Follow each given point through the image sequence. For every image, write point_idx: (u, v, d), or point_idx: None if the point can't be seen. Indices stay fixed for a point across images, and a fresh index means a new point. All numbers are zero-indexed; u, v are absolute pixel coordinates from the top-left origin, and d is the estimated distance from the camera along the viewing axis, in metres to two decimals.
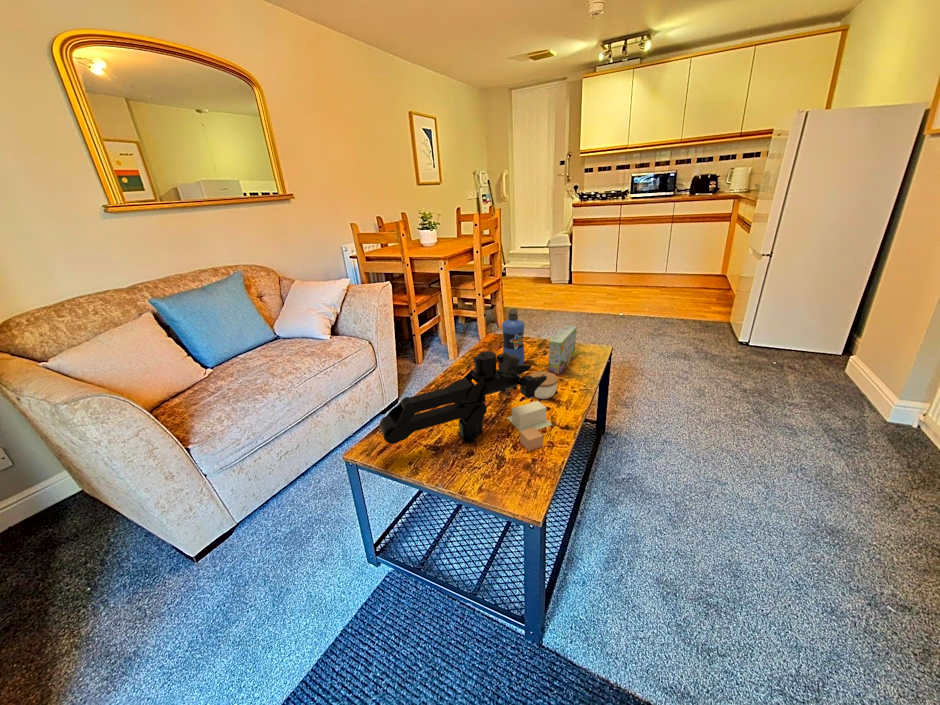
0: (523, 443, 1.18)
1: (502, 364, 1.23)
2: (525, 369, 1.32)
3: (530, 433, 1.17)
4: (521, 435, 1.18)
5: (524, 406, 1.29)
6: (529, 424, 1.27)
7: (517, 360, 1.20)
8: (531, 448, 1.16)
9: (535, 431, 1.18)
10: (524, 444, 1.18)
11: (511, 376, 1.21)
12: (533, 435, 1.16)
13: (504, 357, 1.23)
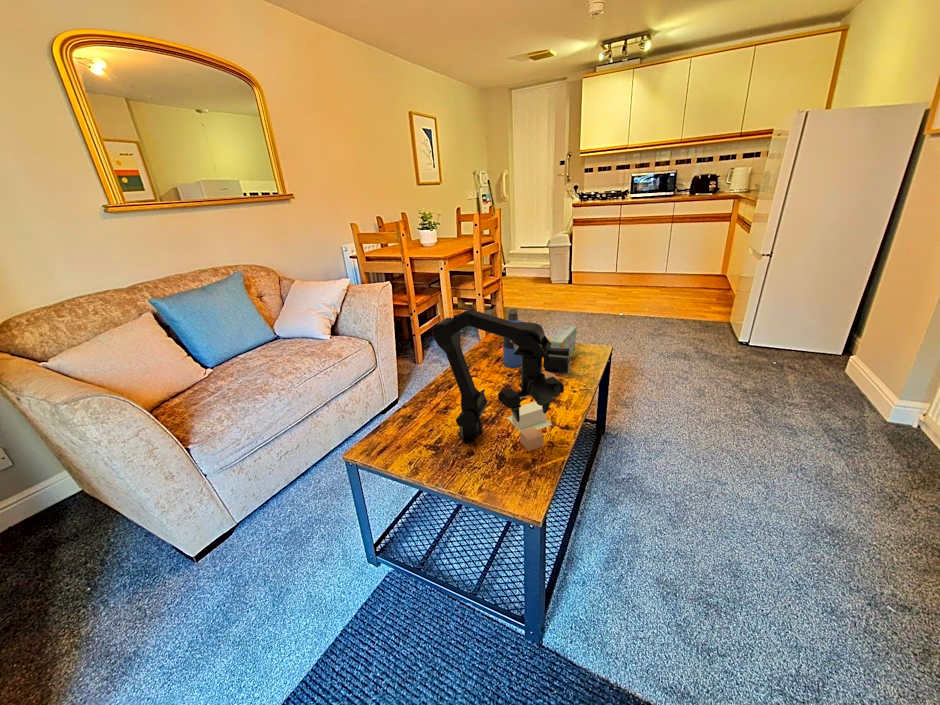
0: (523, 443, 1.18)
1: (546, 385, 1.06)
2: (543, 406, 1.16)
3: (530, 433, 1.17)
4: (521, 435, 1.18)
5: (524, 406, 1.29)
6: (529, 424, 1.27)
7: (538, 402, 1.05)
8: (531, 448, 1.16)
9: (535, 431, 1.18)
10: (524, 444, 1.18)
11: (527, 388, 1.07)
12: (533, 435, 1.16)
13: (551, 391, 1.05)
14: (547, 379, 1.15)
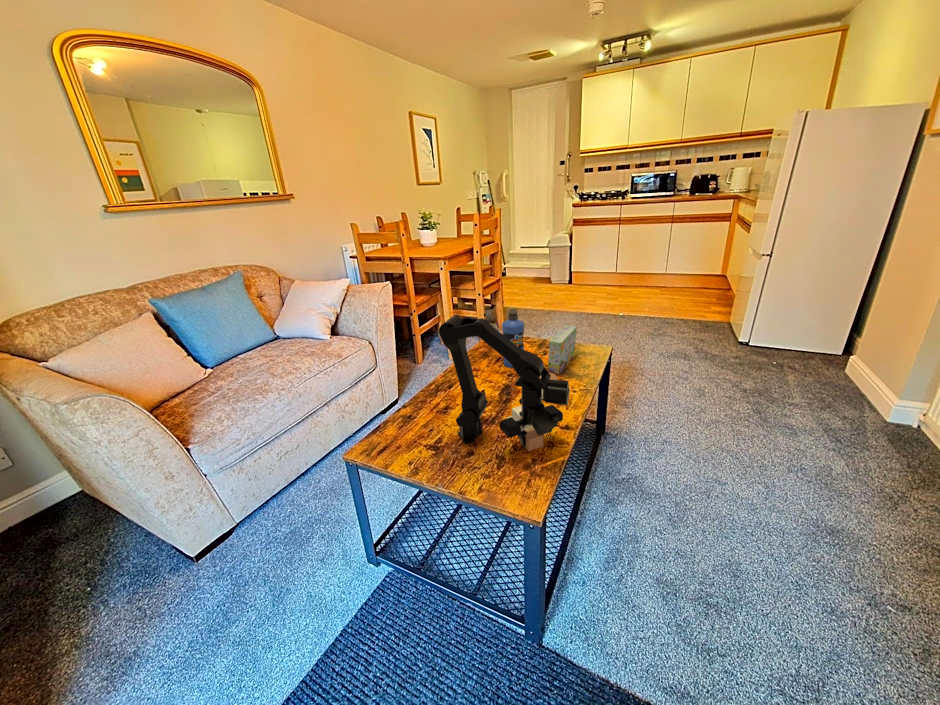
0: None
1: (545, 415, 1.10)
2: None
3: (530, 433, 1.17)
4: None
5: None
6: None
7: (538, 432, 1.08)
8: (531, 448, 1.16)
9: (535, 431, 1.18)
10: None
11: (527, 417, 1.11)
12: (533, 435, 1.16)
13: (550, 421, 1.09)
14: (547, 407, 1.18)
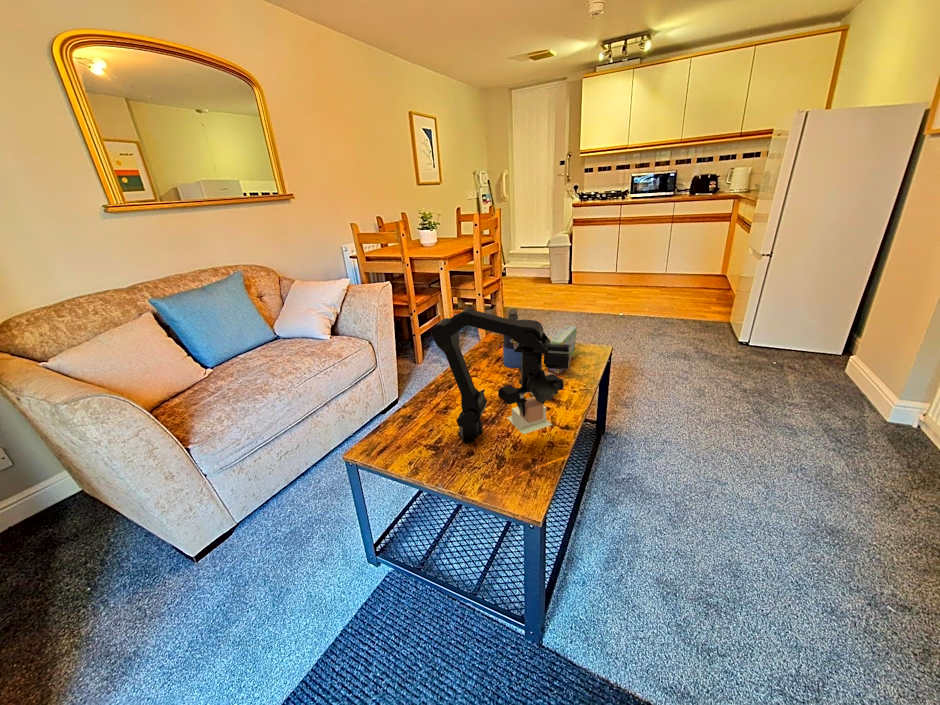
0: None
1: (545, 382, 1.07)
2: None
3: (530, 402, 1.15)
4: None
5: None
6: (529, 424, 1.27)
7: (537, 398, 1.06)
8: (531, 417, 1.13)
9: (535, 400, 1.15)
10: None
11: (527, 384, 1.08)
12: (533, 403, 1.14)
13: (550, 388, 1.06)
14: (547, 376, 1.16)
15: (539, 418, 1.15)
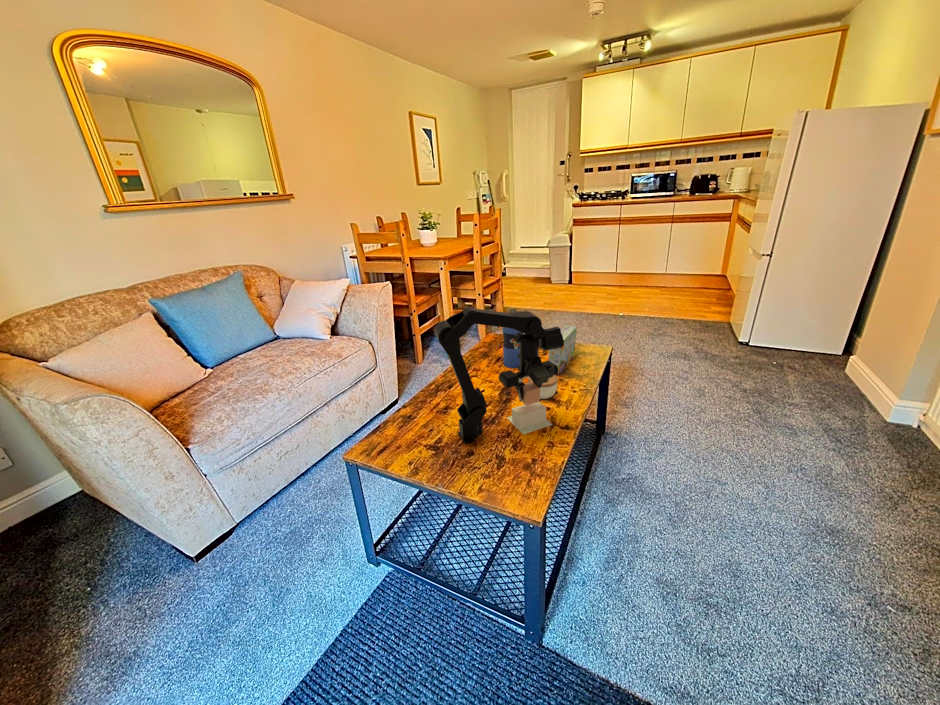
0: None
1: (542, 367, 1.18)
2: None
3: (528, 386, 1.25)
4: None
5: (524, 406, 1.29)
6: (529, 424, 1.27)
7: (534, 382, 1.16)
8: (528, 399, 1.24)
9: (532, 384, 1.26)
10: None
11: (525, 369, 1.19)
12: (531, 387, 1.24)
13: (546, 372, 1.16)
14: (543, 362, 1.26)
15: (536, 401, 1.25)
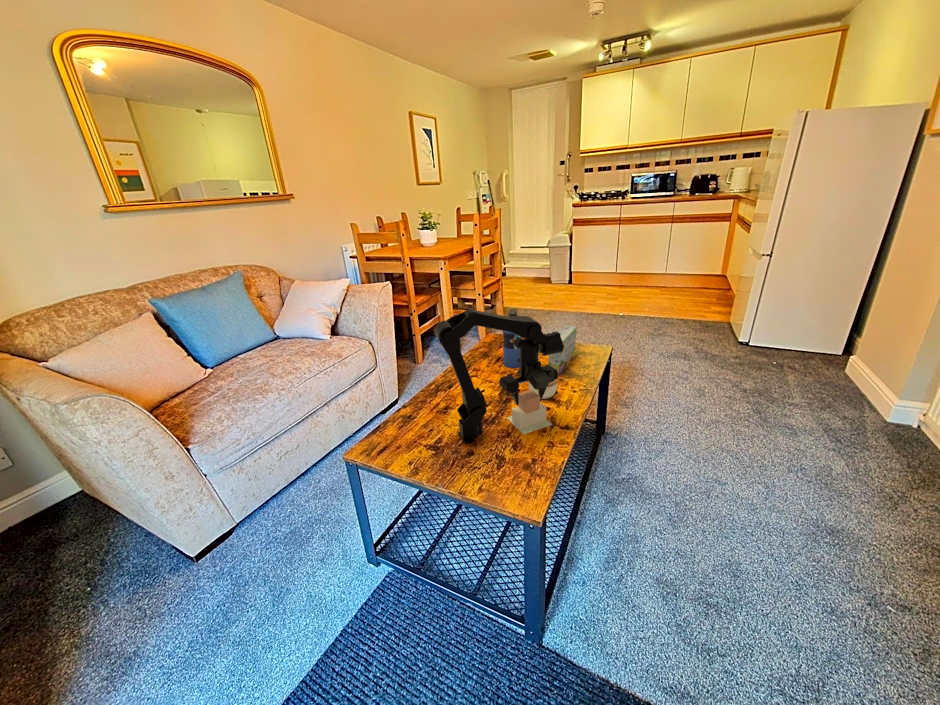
0: (521, 404, 1.27)
1: (542, 372, 1.19)
2: (539, 391, 1.28)
3: (528, 394, 1.26)
4: (519, 396, 1.27)
5: None
6: (529, 424, 1.27)
7: (534, 386, 1.17)
8: (528, 408, 1.25)
9: (532, 393, 1.27)
10: (522, 405, 1.27)
11: (525, 374, 1.20)
12: (531, 396, 1.25)
13: (546, 377, 1.17)
14: (543, 367, 1.27)
15: (536, 409, 1.26)
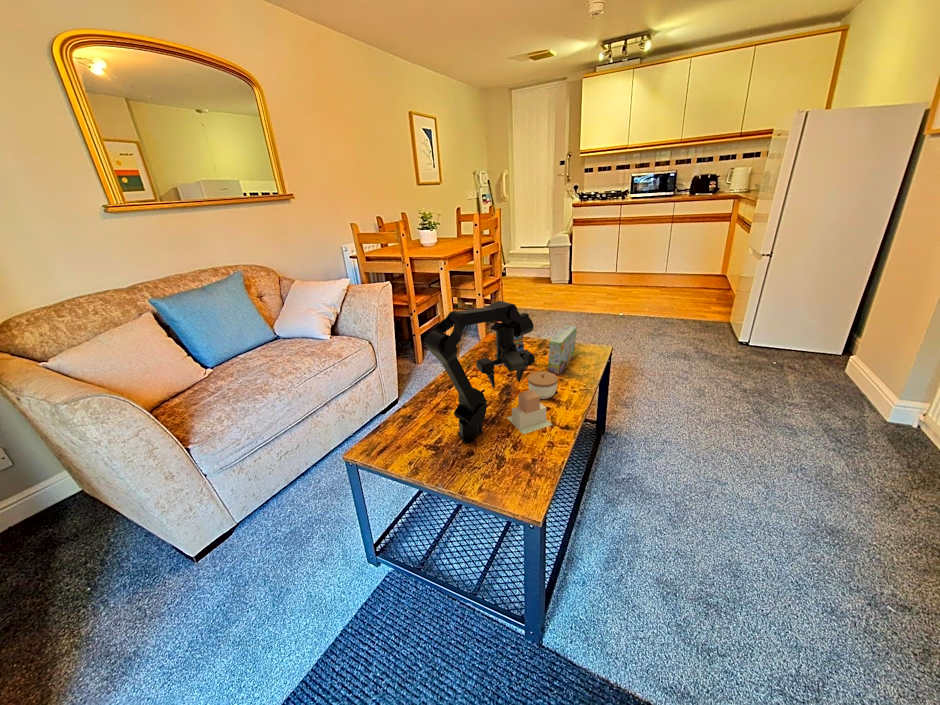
0: (521, 404, 1.27)
1: (516, 354, 1.22)
2: (517, 375, 1.32)
3: (528, 394, 1.26)
4: (519, 396, 1.27)
5: None
6: (529, 424, 1.27)
7: (508, 368, 1.20)
8: (528, 408, 1.25)
9: (532, 393, 1.27)
10: (522, 405, 1.27)
11: (500, 356, 1.23)
12: (531, 396, 1.25)
13: (520, 359, 1.20)
14: (521, 351, 1.30)
15: (536, 409, 1.26)
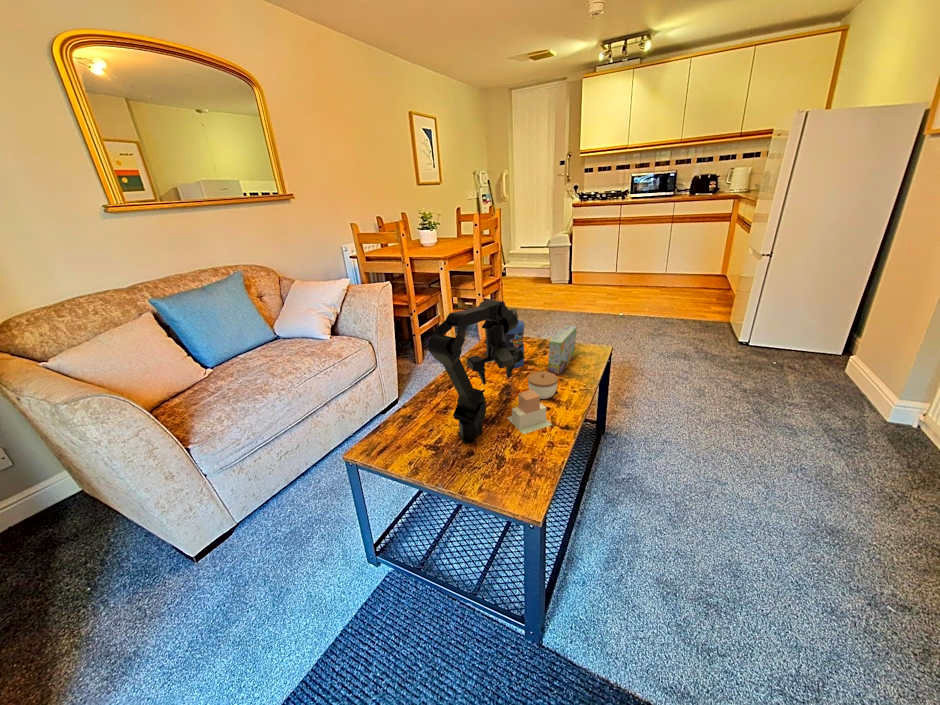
0: (521, 404, 1.27)
1: (506, 351, 1.24)
2: (507, 371, 1.34)
3: (528, 394, 1.26)
4: (519, 396, 1.27)
5: None
6: (529, 424, 1.27)
7: (499, 365, 1.22)
8: (528, 408, 1.25)
9: (532, 393, 1.27)
10: (522, 405, 1.27)
11: (491, 354, 1.25)
12: (531, 396, 1.25)
13: (510, 356, 1.23)
14: (510, 348, 1.32)
15: (536, 409, 1.26)
